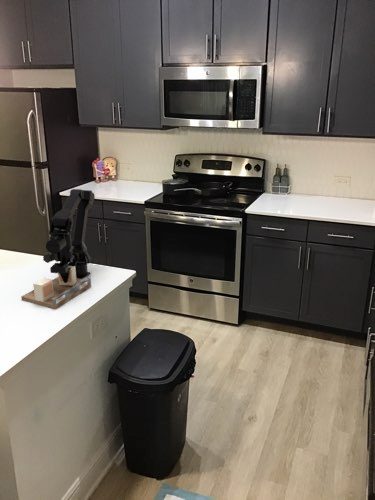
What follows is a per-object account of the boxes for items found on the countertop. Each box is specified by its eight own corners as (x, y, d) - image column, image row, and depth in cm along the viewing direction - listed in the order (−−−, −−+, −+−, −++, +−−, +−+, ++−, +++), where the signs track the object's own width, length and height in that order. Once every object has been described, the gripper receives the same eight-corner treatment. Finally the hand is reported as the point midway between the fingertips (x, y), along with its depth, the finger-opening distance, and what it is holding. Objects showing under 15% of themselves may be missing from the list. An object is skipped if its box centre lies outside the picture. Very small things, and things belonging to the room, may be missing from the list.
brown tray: (59, 279, 190) (58, 270, 188) (91, 287, 183) (90, 278, 181) (21, 299, 171) (20, 290, 170) (55, 309, 164) (54, 299, 163)
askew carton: (62, 280, 183) (61, 265, 181) (76, 281, 183) (75, 266, 180) (59, 285, 179) (57, 269, 177) (73, 285, 179) (71, 270, 176)
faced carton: (35, 299, 168) (33, 283, 165) (46, 293, 173) (44, 277, 171) (43, 302, 166) (41, 285, 164) (54, 295, 171) (52, 279, 169)
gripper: (53, 237, 185) (57, 270, 190) (35, 252, 167) (39, 289, 173) (79, 238, 184) (82, 272, 189) (63, 253, 166) (66, 290, 172)
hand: (67, 280), depth 181 cm, fingers closed on askew carton, 4 cm apart
